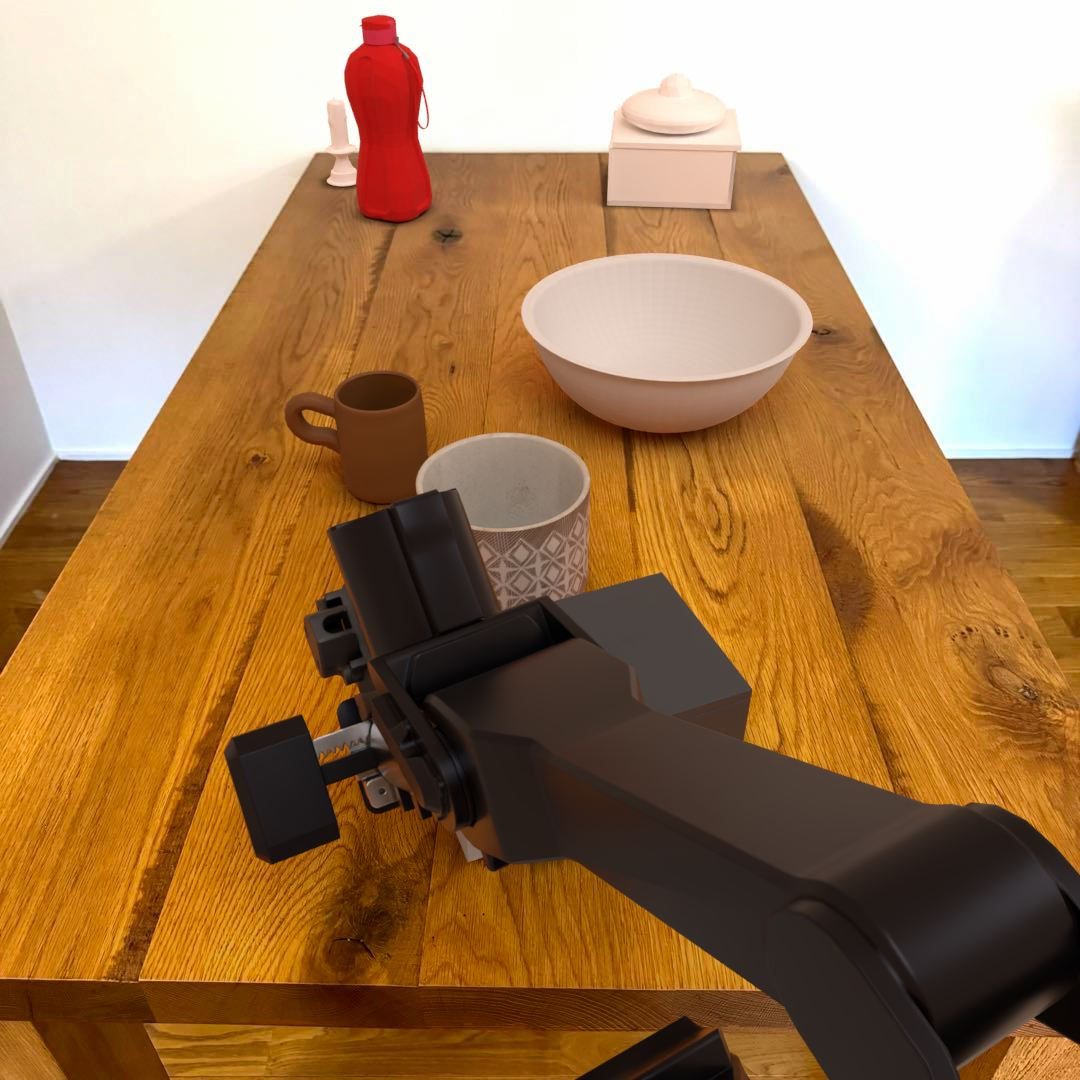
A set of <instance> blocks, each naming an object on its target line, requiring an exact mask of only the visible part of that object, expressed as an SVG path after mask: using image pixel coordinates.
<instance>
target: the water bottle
mask: <svg viewBox="0 0 1080 1080" xmlns="http://www.w3.org/2000/svg"><path fill="white" fill-rule="evenodd" d="M359 27H361V33H362V43H361V44H360V45H359V46H358V47H357V48H355V49H354V50H353V51H352V52H351V53H350V54H348V55H349V56H348V57H347V59H346V63H345V67H344V70H343V76H344V77H343V80H344V87H345V93H346V96H347V100H348V103H349V106H350V109H351V112H352V114H353V117H354V121H355V124H356V126H357V131H358V137H359V149H358V158H357V167H356V170H357V177H356V185H355V187H356V188H355V189H356V202H357V203H356V204H357V206H358V209H359V211H360V212H361V214H362V215H363V216H364V217H367V218H370V219H377V220H383V221H388V222H393V223H403V222H411V221H412V220H413V219H415V218H416V217H419V215H421V214H422V213H424V212H426V211H427V210H429V209H430V207H431V206H432V200H433V191H432V185H431V177H430V172H429V169H428V166H427V163H426V159H425V156H424V153H423V148H422V146H421V142H420V140H419V139H420V138H419V128H420V129H421V130H425V129H427V128H428V127H429V124H430V114H429V113H430V112H429V106H428V102H427V97H426V94H425V87H424V77H423V73H422V70H421V69H422V68H421V65H420V62H419V58H418V56H417V55H416V53H414V51H413V50H412V49H411V48H410V47H408V46H407V45H405V44H403V43H401V42H400V37H399V36H398V32H397V21H396V19H395V17H393V16H390V15H387V14H376V15H370V16H369V15H368V16H364V17H363V18H361V24H360V25H359ZM422 97H423V100H424V103H425V104H424V105H425V112H426V126H425V127H424V126H422V125H421V124H420V121H419V117H420V109H421V103H422Z"/></svg>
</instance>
